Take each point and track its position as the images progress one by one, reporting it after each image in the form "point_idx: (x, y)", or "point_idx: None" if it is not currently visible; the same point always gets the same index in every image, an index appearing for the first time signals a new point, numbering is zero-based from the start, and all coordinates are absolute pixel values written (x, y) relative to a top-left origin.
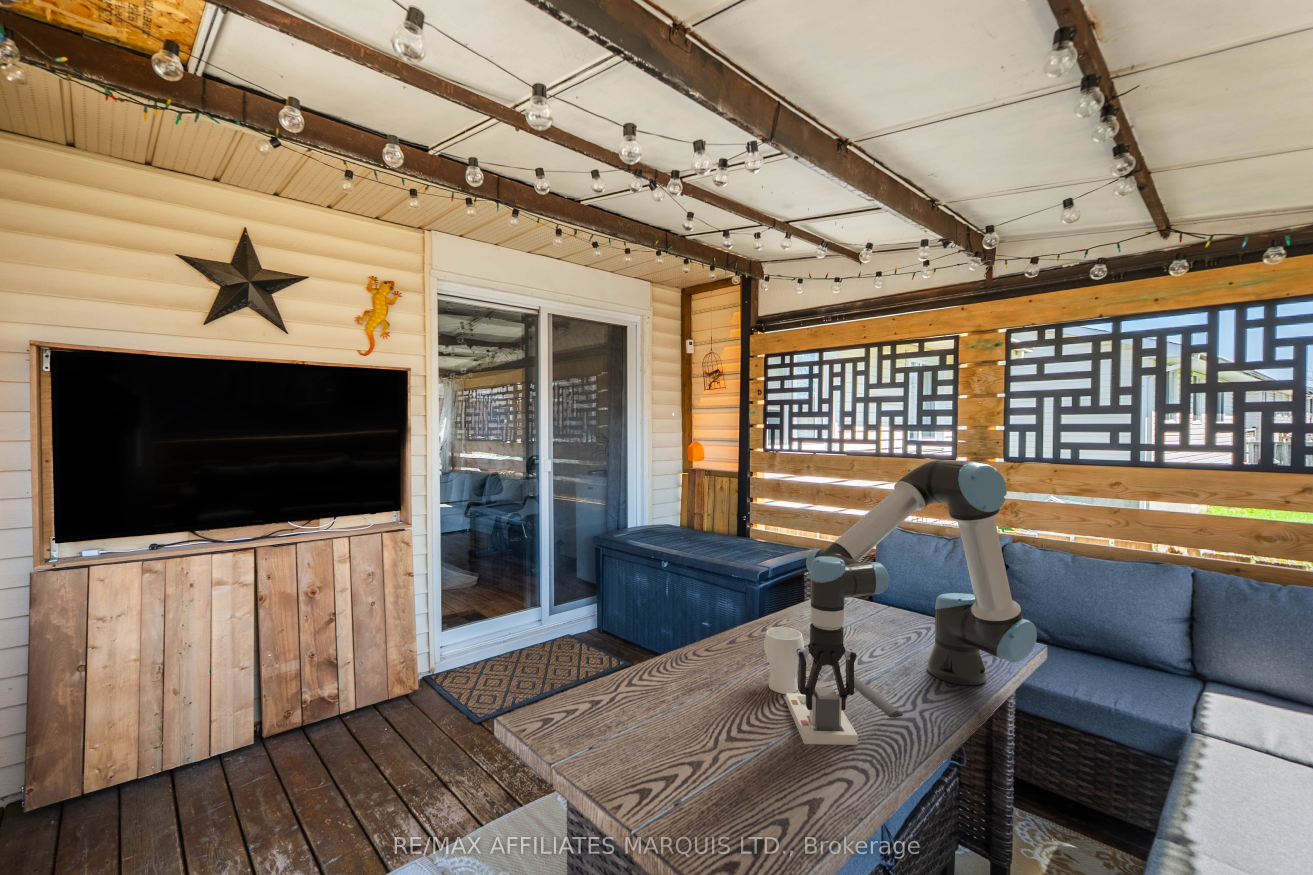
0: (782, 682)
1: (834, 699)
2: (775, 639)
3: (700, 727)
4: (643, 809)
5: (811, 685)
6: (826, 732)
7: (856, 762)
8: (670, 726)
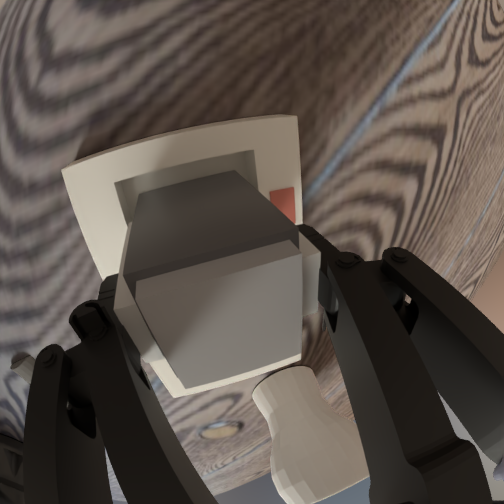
0: (301, 388)
1: (163, 272)
2: None
3: (464, 177)
4: None
5: (382, 308)
6: (197, 149)
7: (97, 34)
8: (485, 175)
